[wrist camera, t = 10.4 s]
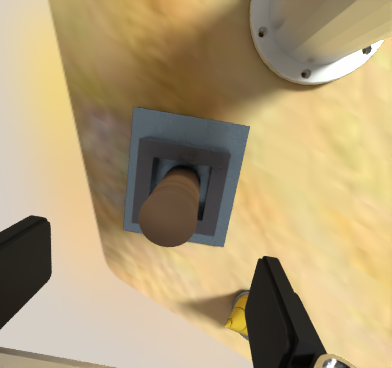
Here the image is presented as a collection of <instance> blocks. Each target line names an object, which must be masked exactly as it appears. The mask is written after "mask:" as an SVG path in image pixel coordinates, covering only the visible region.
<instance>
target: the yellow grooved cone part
mask: <svg viewBox="0 0 392 368" xmlns="http://www.w3.org/2000/svg"><path fill="white" fill-rule="evenodd" d="M248 294H249V291H247V292H243V293H241V294H239V295H238V296H237V297H236V299H235V300H234V302H233V306H232V313H231V315H230V317H229V319H228V321H227V323H226V325H225V327H226V328H229V329H231V330H233V331H236V332H238V333H240V334H241V335H242V336H243V337H244V338H245V339H247V340H249V338H248V332H247V326H246V320H245V305H246V302H247V298H248Z"/></svg>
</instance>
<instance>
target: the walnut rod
mask: <svg viewBox="0 0 392 368" xmlns="http://www.w3.org/2000/svg"><path fill="white" fill-rule="evenodd" d="M200 184H201V181H200V177H199V175H198V173H197V172H196V170H194V169H193V168H192V167H190V166H187V165H177V166H174V167H172V168H171V169H170V170H169V171H168V172H167V173H166V175H165V176H164V177H163V179H162V180H161V181H160V182H159V184H158V185H157V186H156V188H155V189H154V190H153V192H152V193H151V194H150V196H149V197H148V198H147V200H146V201H145V202H144V204H143V205H142V207H141V209H140V211H139V217H138V220H139V226H140V229H141V231H142V232H143V234H144V235H145V236H146V238H147V239H149V240H150V241H151V242H153V243H155V244H157V245H160V246H163V247H175V246H179V245H181V244H183V243H185V242H186V241H188V240H189V239H190V238H191V237H192V235H193V234H194V232H195V229H196V225H197V215H198V205H199V195H200Z"/></svg>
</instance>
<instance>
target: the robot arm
mask: <svg viewBox="0 0 392 368" xmlns="http://www.w3.org/2000/svg"><path fill="white" fill-rule="evenodd" d="M249 22H250V29H251V36H252V39H253V42H254V45H255V48H256V50H257V52H258V54H259V55H260V57H261V59H262V61H263V62H264V63H265V64H266V65H267V66H268V67H269V69H270V70H272V71H273V72H274V73H275V74H277V75H278V76H279V77H281V78H283V79H286V80H288V81H290V82H293V83H298V84H302V85H317V84H323V83H328V82H331V81H334V80H337V79H340V78H342V77H344V76H346V75H348V74H350V73H352V72H353V71H355V70H356V69H357V68H359V67H360V66H362V65H363V64H364V63H365V62H366V61H367V60H368V59H369V58H371V57H372V56H373V54H374V53H375V52H376V51H377V49H378V48H379V47H380V45H381V44H382V42H383V41H384V40H385V39H386V38H388V37H391V36H392V0H251V3H250V18H249ZM259 33H262V34H263V37H262V38H261V37H259V35H258V34H259ZM362 51H363V53H362ZM301 73H304V74H305V76H304V78H302V76H301ZM51 273H52V270H51V228H50V222H48V221H47V219H46V218H44V217H39V216H32V215H31V216H29V217H27V218H25V219H23V220H21V221H19V222H18V223H16V224H14V225H12V226H11V227H9V228H7V229H5V230H3V231H1V232H0V329H1V328H2V327H3V326H4V325H5V324H6V323H7V322H8V321H9V320H10V319H11V318H12V317H13V316H14V315H15V314H16V313H17V312H18V311H19V310H20V309H21V308H22V307H23V306H24V305H25V304H26V303H27V302H28V301H29V300H30V299H31V298H32V297H33V296H34V295H35V294H36V293H37V292H38V291H39V290H40V289H41V288H42V287H43V285H44V284H45V283H47V281H48V280H49V279H50V277H51ZM245 320H246V326H247V332H248V338H249V344H250V349H251V355H252V361H253V366H254V368H356V367H355V366H353V365H352V364H351V363H350V362H348V361H346V360H345V359H343V358H341V357H338V356H336V355H332V354H327V352H326V350H325V348H324V346H323V344H322V342H321V340H320V338H319V336H318V334H317V332H316V330H315V328H314V326H313V324H312V322H311V320H310V318H309V316H308V314H307V312H306V310H305V308H304V306H303V304H302V302H301V300H300V298H299V296H298V295H297V294H296V293H294V291H293V289H292V287H291V285H290V282H289V280H288V278H287V276H286V274H285V272H284V270H283V268H282V266H281V264H280V262H279V260H278V258H274V257H269V256H263V258H262V259H261V258H259V259H258V262H257V266H256V269H255V273H254V276H253V280H252V284H251V287H250V291H249V294H248V298H247V302H246V305H245ZM0 368H115V367H109V366H104V365H99V364H93V363H88V362H82V361H77V360H71V359H66V358H60V357H54V356H49V355H43V354H37V353H32V352H26V351H20V350H15V349H9V348H3V347H0Z"/></svg>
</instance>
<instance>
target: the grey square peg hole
mask: <svg viewBox="0 0 392 368" xmlns="http://www.w3.org/2000/svg"><path fill="white" fill-rule="evenodd" d="M249 129H250V126H245V125H239V124H233V123H227V122H221V121H215V120H209V119H203V118H197V117H191V116H185V115H179V114H174V113H168V112H162V111H156V110H150V109H144V108H138V107H133V119H132V131H131V143H130V155H129V167H128V179H127V191H126V203H125V215H124V227H123V230H125V231H131V232H137V233H143V232H142V231H141V229H140V226H139V220H138V217H139V211H140V209H141V207H142V205H143V204H144V202H145V201H146V200H147V198H148V197H149V196H150V194H151V193H152V192H153V190H154V189H155V188H156V186H157V185H158V184H159V182H160V181H161V180H162V179H163V177H164V176H165V175H166V173H167V172H168V171H169V170H170V169H171V168H172V167H174V166H177V165H187V166H190V167H192V168H193V169H194V170H196V172H197V173H198V175H199V177H200V181H201V184H200V195H199V205H198V215H197V225H196V229H195V232H194V234H193V235H192V237H191V238H190V239H189V240H188V241H190V242H196V243H202V244H208V245H214V246H220V247H224V243H225V238H226V234H227V229H228V225H229V220H230V215H231V211H232V206H233V202H234V197H235V193H236V188H237V183H238V179H239V174H240V170H241V165H242V161H243V156H244V151H245V147H246V142H247V138H248V133H249Z"/></svg>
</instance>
